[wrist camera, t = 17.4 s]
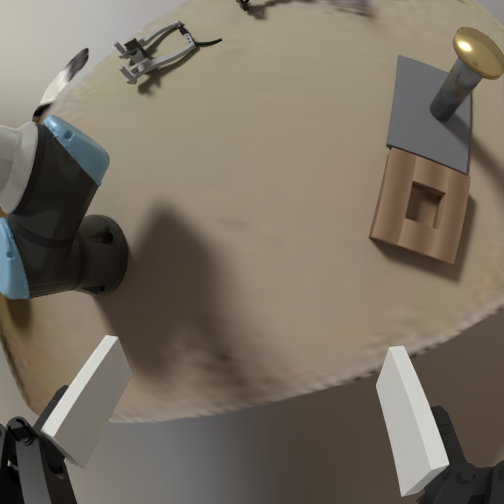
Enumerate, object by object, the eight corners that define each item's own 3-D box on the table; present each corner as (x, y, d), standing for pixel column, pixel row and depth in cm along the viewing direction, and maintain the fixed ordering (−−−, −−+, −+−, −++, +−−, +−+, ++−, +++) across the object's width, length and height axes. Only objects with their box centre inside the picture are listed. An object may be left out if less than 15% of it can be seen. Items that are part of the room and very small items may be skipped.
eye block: (368, 237, 37) (372, 236, 33) (387, 156, 36) (392, 147, 32) (443, 262, 34) (453, 264, 30) (459, 183, 33) (470, 177, 29)
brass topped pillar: (419, 121, 33) (457, 57, 17) (422, 87, 33) (453, 19, 16) (456, 136, 32) (509, 84, 15) (458, 102, 31) (502, 43, 14)
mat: (385, 145, 36) (387, 143, 35) (397, 58, 34) (398, 55, 33) (463, 174, 33) (466, 173, 32) (467, 84, 31) (469, 82, 30)
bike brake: (132, 94, 47) (224, 47, 45) (114, 77, 40) (216, 24, 38) (122, 57, 48) (203, 15, 46) (107, 40, 41) (194, -5, 39)
